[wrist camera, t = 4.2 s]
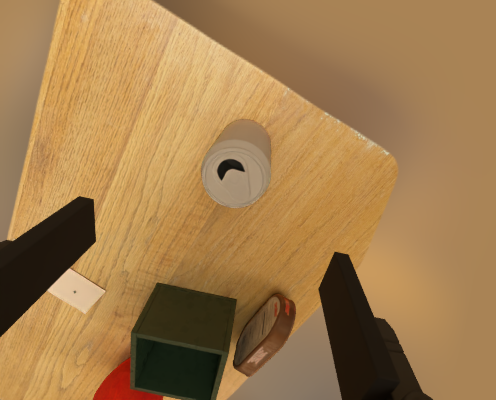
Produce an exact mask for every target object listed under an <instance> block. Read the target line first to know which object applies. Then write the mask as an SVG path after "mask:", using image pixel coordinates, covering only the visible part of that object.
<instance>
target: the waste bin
mask: <svg viewBox="0 0 496 400" xmlns="http://www.w3.org/2000/svg"><path fill="white" fill-rule="evenodd" d="M236 301H237V300H236V299H232V298H227V297H223V296H218V295H213V294H208V293H204V292H199V291H194V290H190V289H185V288H180V287H176V286H171V285H166V284H161V283H157V284H156V286H155V288H154V290H153V292H152V294H151V295H150V297H149V299H148V301H147V303H146V305H145V307H144V309H143V311H142V312H141V314H140V316H139V318H138V320H137V322H136V324H135V326H134V328H133V329H132V331H131V359H130V389H133V390H137V391H142V392H147V393H152V394H156V395H161V396H166V397H171V398H176V399H181V400H216V397H217V394H218V390H219V386H220V383H221V379H222V375H223V372H224V368H225V364H226V361H227V357H228V353H229V347H230V341H231V334H232V327H233V321H234V314H235V307H236Z"/></svg>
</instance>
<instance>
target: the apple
mask: <svg viewBox="0 0 496 400" xmlns="http://www.w3.org/2000/svg"><path fill="white" fill-rule="evenodd" d="M130 359H131V357H130V358H129V359H127V360H126V361H124V362H123V363H121V364H120V365H119V366H118V367H117V368H116V369H114V370H113V371H112V372H111V373H110V374H109V375H108V376H107V377H106V378H105V380H104V381H103V382H102V384H101V385H100V387H99V388H98V390H97V391H96V393H95V395H94V398H93V400H163V396H161V395H156V394H152V393H147V392H142V391H137V390H133V389H130Z"/></svg>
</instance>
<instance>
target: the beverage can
mask: <svg viewBox="0 0 496 400" xmlns="http://www.w3.org/2000/svg"><path fill="white" fill-rule="evenodd" d="M201 176H202V182H203V186H204V188H205V190H206V192H207V193H208V195H209V196H210V197H211V198H212V199H213V200H214V201H215V202H217V203H219V204H220V205H223V206H225V207H229V208H243V207H247V206H249V205H251V204H253V203H254V202H256V201H257V200H258V199H259V198H260V197H261V196H262V195H263V194H264V193H265V191H266V190H267V188H268V186H269V183H270V179H271V141H270V137H269V135H268V133H267V131H266V130H265V128H264V127H263V126H262V125H260V124H259V123H257V122H255V121H253V120H247V119H241V120H236V121H234V122H232V123H230V124H229V125H228V126H226V128H225V129H224V130H223V131H222V133H221V134H220V136H219V137H218V138H217V140H216V141H215V142H214V144H213V145H212V147H211V148H210V149H209V151H208V152H207V153H206V155H205V157H204V159H203V162H202V166H201Z"/></svg>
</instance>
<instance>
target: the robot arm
mask: <svg viewBox="0 0 496 400" xmlns="http://www.w3.org/2000/svg"><path fill="white" fill-rule="evenodd" d="M95 242H96V234H95V216H94V199H90V198H85V197H80V196H79V197H77V198H76V199H74V200H73V201H71V202H70V203H69V204H67V205H66V206H64V207H63V208H61V209H60V210H58V211H57V212H55V213H54V214H52V215H51V216H49V217H48V218H46V219H45V220H43V221H42V222H40V223H39V224H38V225H36V226H35V227H33V228H32V229H30V230H29V231H27V232H26V233H24V234H23V235H21V236H20V237H18V238H17V239H15V240H14V241H9V240H5V241H3V242H0V337H1V336H2V335H3V334H4V333H5V332H6V331H7V330H8V329H9V328H10V327H11V326H12V325H13V324H14V323H15V322H16V321H17V320H18V319H19V318H20V317H21V316H22V315H23V314H24V313H25V312H26V311H27V310H28V309H29V308H30V307H31V306H32V305H33V304H34V303H35V302H36V301H37V300H38V299H39V298H40V297H41V296H42V295H43V294H44V293H45V292H46V291H47V290H48V289H49V288H50V287H51V286H52V285H53V284H54V283H55V282H56V281H57V280H58V279H59V278H60V277H61V276H62V275H63V274H64V273H65V272H66V271H67V270H68V269H69V268H70V267H71V266H72V265H73V264H74V263H75V262H76V261H77V260H78V259H79V258H80V257H81V256H82V255H83V254H84V253H85V252H86V251H87V250H88V249H89V248H90V247H91V246H92V245H93V244H94V243H95ZM319 294H320V298H321V303H322V307H323V312H324V317H325V322H326V326H327V331H328V336H329V340H330V345H331V349H332V354H333V359H334V364H335V369H336V373H337V378H338V382H339V387H340V392H341V396H342V400H433V399H432V398H431V397H429V396H427V395H426V394H424V393H423V392H422V390H421V388H420V386H419V383H418V381H417V379H416V377H415V375H414V373H413V370H412V368H411V366H410V364H409V362H408V360H407V358H406V356H405V354H404V353H403V352H404V351H403V349H402V347H401V345H400V344H399V340H398V338H397V336H396V334H395V332H394V330H393V329H392V328H391V326H390V325H389V324H388V323H387V322H386V320H385V319H381V318H376V317H374V315H373V313H372V311H371V308H370V306H369V303H368V301H367V298H366V296H365V294H364V291H363V289H362V286H361V284H360V281H359V279H358V277H357V274H356V272H355V269H354V267H353V264H352V262H351V260H350V257H349V255H348V254H343V253H339V252H334V254H333V257H332V259H331V261H330V264H329V266H328V268H327V271H326V273H325V275H324V278H323V280H322V282H321V284H320V287H319Z"/></svg>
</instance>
